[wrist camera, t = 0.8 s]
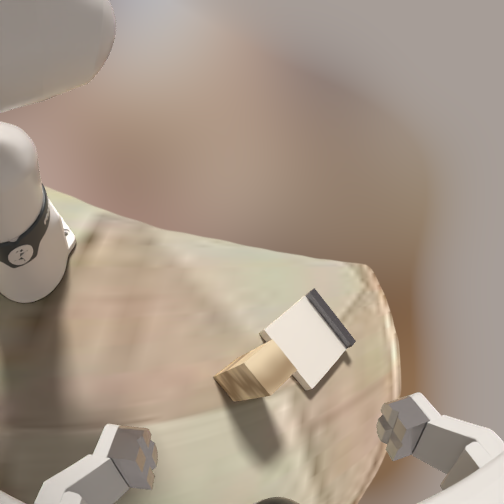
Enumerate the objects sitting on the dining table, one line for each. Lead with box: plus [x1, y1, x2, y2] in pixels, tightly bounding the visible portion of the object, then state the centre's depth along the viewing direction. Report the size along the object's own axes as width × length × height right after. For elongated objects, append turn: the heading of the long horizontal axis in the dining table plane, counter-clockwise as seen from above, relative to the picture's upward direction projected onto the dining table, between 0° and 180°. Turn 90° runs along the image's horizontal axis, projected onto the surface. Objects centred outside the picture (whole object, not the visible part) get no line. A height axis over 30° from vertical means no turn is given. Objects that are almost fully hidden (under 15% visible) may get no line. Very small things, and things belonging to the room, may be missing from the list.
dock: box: [259, 289, 356, 390], centre depth 49 cm, size 13×13×4 cm
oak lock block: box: [214, 339, 297, 402], centre depth 37 cm, size 5×5×12 cm
